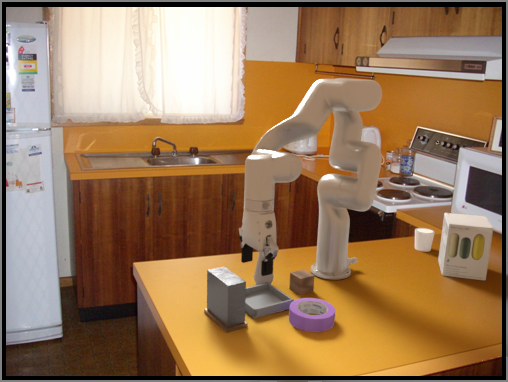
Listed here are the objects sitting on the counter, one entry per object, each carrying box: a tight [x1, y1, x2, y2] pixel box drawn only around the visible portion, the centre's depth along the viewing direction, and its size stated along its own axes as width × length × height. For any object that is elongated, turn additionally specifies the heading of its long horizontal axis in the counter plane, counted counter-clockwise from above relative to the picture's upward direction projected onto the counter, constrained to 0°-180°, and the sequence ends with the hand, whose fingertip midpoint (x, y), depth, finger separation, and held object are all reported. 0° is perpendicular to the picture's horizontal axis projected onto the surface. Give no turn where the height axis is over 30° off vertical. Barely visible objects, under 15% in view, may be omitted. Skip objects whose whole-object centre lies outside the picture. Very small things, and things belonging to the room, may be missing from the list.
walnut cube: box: [289, 269, 315, 296], centre depth 151 cm, size 5×5×5 cm
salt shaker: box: [253, 247, 274, 286], centre depth 152 cm, size 6×6×13 cm
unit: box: [203, 266, 249, 333], centre depth 131 cm, size 6×12×12 cm, turn 32°
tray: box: [245, 283, 295, 319], centre depth 142 cm, size 12×12×2 cm
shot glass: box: [414, 227, 436, 253], centre depth 187 cm, size 7×7×7 cm
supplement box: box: [437, 212, 494, 281], centre depth 167 cm, size 13×13×18 cm
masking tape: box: [288, 297, 336, 333], centre depth 133 cm, size 12×12×4 cm
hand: (256, 267), depth 135 cm, fingers open, 9 cm apart
